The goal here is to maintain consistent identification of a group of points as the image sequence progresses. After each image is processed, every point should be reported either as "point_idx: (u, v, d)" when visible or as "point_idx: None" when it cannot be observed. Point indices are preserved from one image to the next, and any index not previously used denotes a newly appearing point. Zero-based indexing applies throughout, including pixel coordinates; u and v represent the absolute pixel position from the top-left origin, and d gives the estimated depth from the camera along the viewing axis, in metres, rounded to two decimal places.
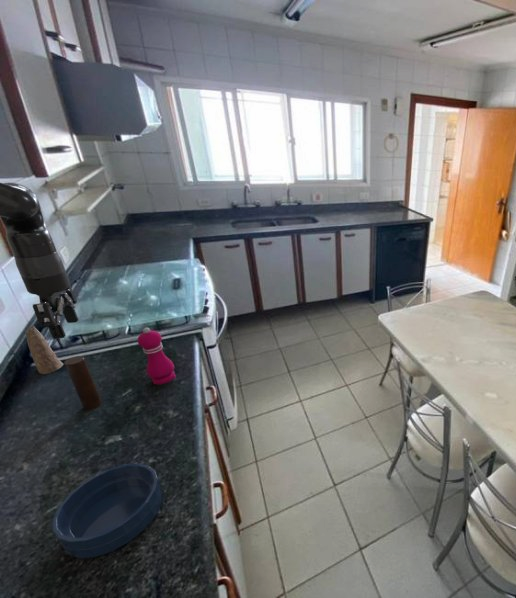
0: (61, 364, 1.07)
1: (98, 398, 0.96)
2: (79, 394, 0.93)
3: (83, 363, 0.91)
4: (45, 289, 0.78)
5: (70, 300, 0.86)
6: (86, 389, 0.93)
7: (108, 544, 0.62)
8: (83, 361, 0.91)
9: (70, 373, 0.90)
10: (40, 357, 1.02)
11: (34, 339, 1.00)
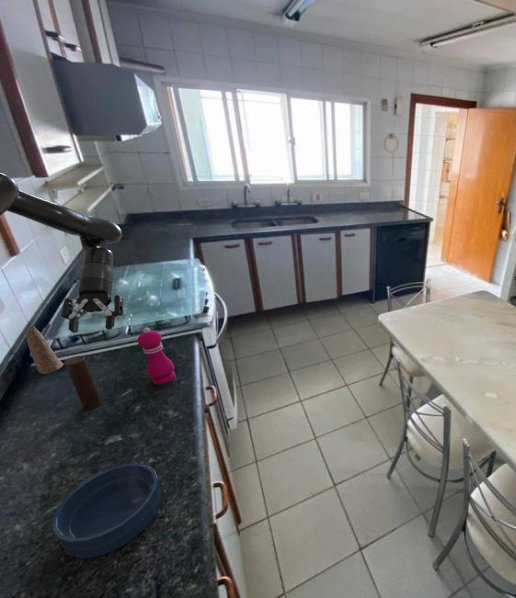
0: (61, 364, 1.07)
1: (98, 398, 0.96)
2: (79, 394, 0.93)
3: (83, 363, 0.91)
4: (111, 290, 1.04)
5: None
6: (86, 389, 0.93)
7: (108, 544, 0.62)
8: (83, 361, 0.91)
9: (70, 373, 0.90)
10: (40, 357, 1.02)
11: (34, 339, 1.00)
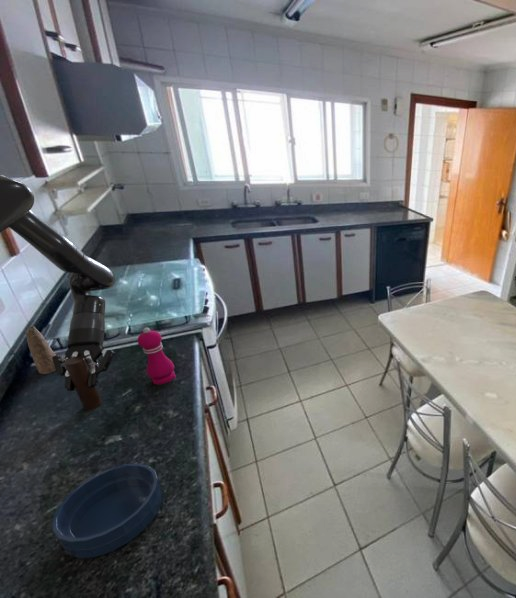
0: None
1: (98, 398, 0.96)
2: (79, 394, 0.93)
3: (83, 363, 0.91)
4: (102, 340, 0.98)
5: None
6: (86, 389, 0.93)
7: (108, 544, 0.62)
8: (83, 361, 0.91)
9: (70, 373, 0.90)
10: (40, 357, 1.02)
11: (34, 339, 1.00)
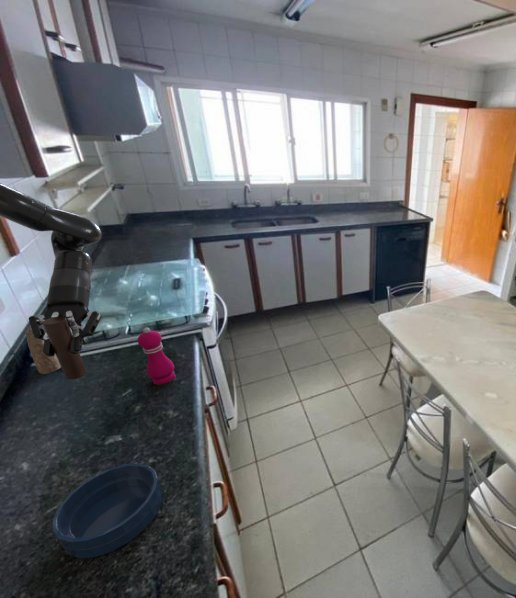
0: None
1: (83, 367, 0.84)
2: (60, 361, 0.80)
3: (64, 324, 0.79)
4: (88, 301, 0.86)
5: None
6: (69, 355, 0.81)
7: (108, 544, 0.62)
8: (64, 322, 0.79)
9: (49, 335, 0.77)
10: (40, 357, 1.02)
11: (34, 339, 1.00)
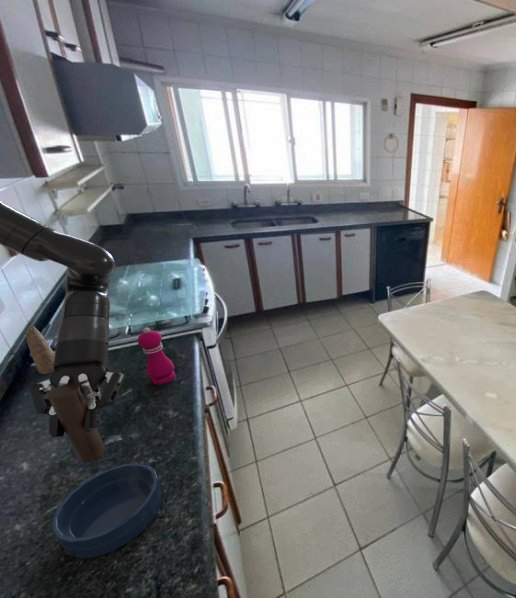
0: None
1: (100, 444, 0.64)
2: (72, 441, 0.61)
3: (77, 395, 0.59)
4: (106, 357, 0.66)
5: None
6: (83, 433, 0.61)
7: (108, 544, 0.62)
8: (77, 392, 0.59)
9: (57, 411, 0.57)
10: (40, 357, 1.02)
11: (34, 339, 1.00)
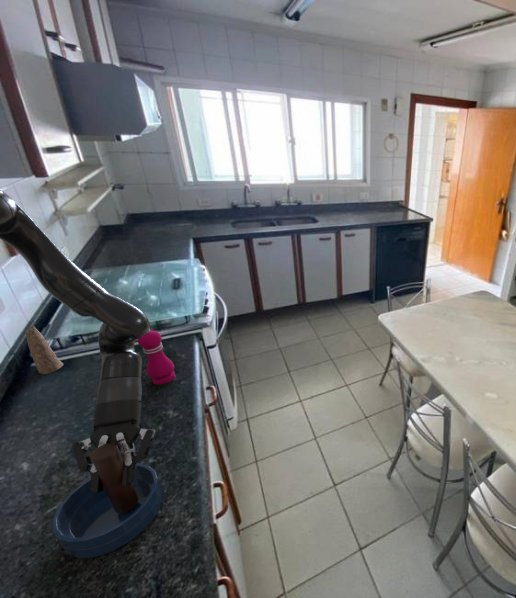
0: (61, 364, 1.07)
1: (134, 495, 0.70)
2: (110, 495, 0.66)
3: (116, 454, 0.64)
4: (140, 413, 0.71)
5: None
6: (120, 488, 0.66)
7: (108, 544, 0.62)
8: (116, 452, 0.64)
9: (99, 470, 0.63)
10: (40, 357, 1.02)
11: (34, 339, 1.00)
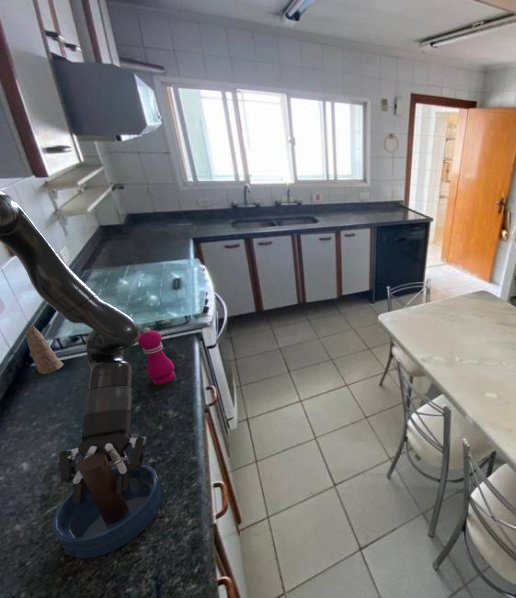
0: (61, 364, 1.07)
1: (124, 505, 0.69)
2: (98, 506, 0.65)
3: (105, 465, 0.63)
4: (129, 423, 0.71)
5: None
6: (109, 498, 0.65)
7: (108, 544, 0.62)
8: (105, 462, 0.63)
9: (86, 481, 0.62)
10: (40, 357, 1.02)
11: (34, 339, 1.00)
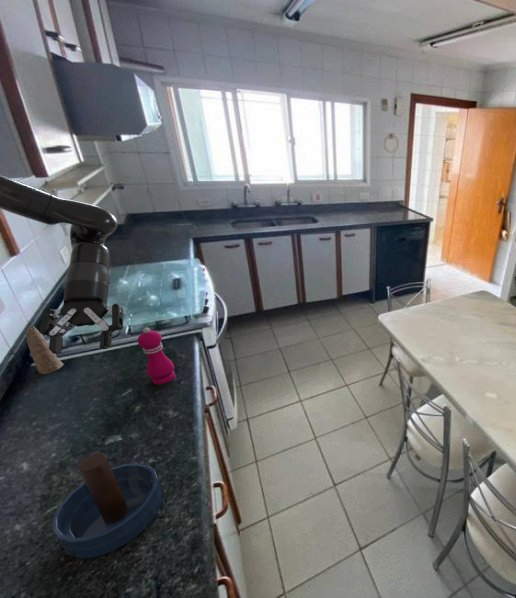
0: (61, 364, 1.07)
1: (124, 505, 0.69)
2: (98, 506, 0.65)
3: (105, 465, 0.63)
4: (107, 297, 0.80)
5: None
6: (109, 498, 0.65)
7: (108, 544, 0.62)
8: (105, 462, 0.63)
9: (86, 481, 0.62)
10: (40, 357, 1.02)
11: (34, 339, 1.00)
